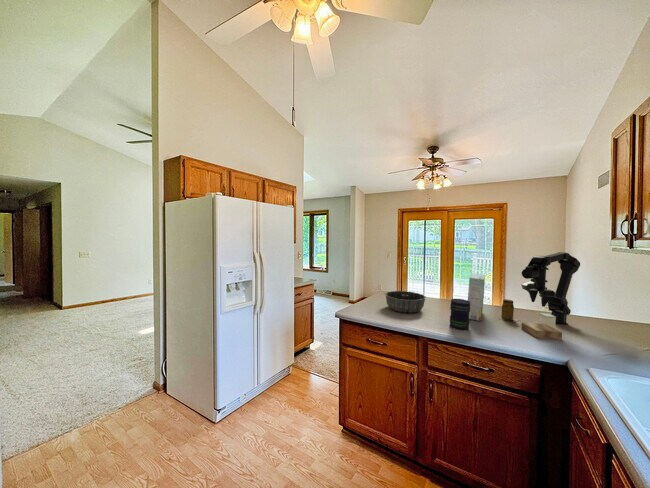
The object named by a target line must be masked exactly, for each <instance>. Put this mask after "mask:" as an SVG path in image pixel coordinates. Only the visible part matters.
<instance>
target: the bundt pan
mask: <svg viewBox="0 0 650 488" xmlns="http://www.w3.org/2000/svg"><path fill="white" fill-rule="evenodd" d="M384 295H385V300H386V304H387V306H388V307H389V308H390V309H391V310H393V311H395V312H400V313H409V314H410V313H418V312H420V311H422V309H423V308H424V306H425V301H426V298H427V296H425V295H424V294H422V293H419V292H414V291H406V290H405V291H404V290H393V291H391V290H390V291H387V292H386V293H384Z"/></svg>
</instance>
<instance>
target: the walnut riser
mask: <svg viewBox="0 0 650 488" xmlns="http://www.w3.org/2000/svg"><path fill="white" fill-rule="evenodd" d="M521 330H523V331H524V332H526V333H527V334H529V335H530V336H532V337H533V338H535V339H546V340H547V339H548V340H561V341H562V339H563V338H562V337H563V332H562V331H560V330H558V329H556V328H555V329H554V328H552V327H550V326H548V325H546V324H539V323H536V322H535V323H534V322H521Z"/></svg>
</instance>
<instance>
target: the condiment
mask: <svg viewBox="0 0 650 488" xmlns="http://www.w3.org/2000/svg"><path fill="white" fill-rule="evenodd" d="M514 310H515V306H514V301H513V300H512V299H507V298H506V299H505V298H504V299H503V300H502V303H501V315H500V316H501V317H499V318H498V319H499V320H502V321H507V322H511V323H512V322H513V323H517V322H519V319H516V318H514Z"/></svg>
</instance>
